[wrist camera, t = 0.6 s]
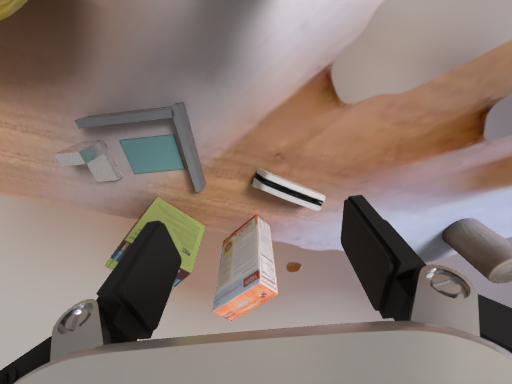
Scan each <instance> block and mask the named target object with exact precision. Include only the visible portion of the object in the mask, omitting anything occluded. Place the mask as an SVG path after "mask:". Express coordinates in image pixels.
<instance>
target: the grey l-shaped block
mask: <svg viewBox="0 0 512 384" xmlns="http://www.w3.org/2000/svg"><path fill="white" fill-rule="evenodd" d="M53 155H54V157H55V158H56V160H57V161H58V163H59V164H60V166H61V167H63V166H72V165H82V164H87V166H88V167H89V169H90V171H91V173H92V174H93V176H94V178H95V179H96V181H97V182H104V181H114V180H119V179H120V178H121V177H122V174H121V172H120V170H119V168H118V166H117V164H116V162H115V161H114V159H113V157H112V155H111V153H110V151H109V149H108V147H107V145H106V143H105V141H104V140H96V141H87V142H81V143H79V144H76V145H74V146H72V147H69V148H67V149H65V150H62V151H60V152H58V153H55V154H53Z"/></svg>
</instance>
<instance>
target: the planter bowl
mask: <svg viewBox="0 0 512 384" xmlns="http://www.w3.org/2000/svg"><path fill="white" fill-rule="evenodd" d="M27 1H28V0H0V21H1V20H4V19H5V18H7V17H9V16H11V15H12V14H14V13H15V12H17V11H18V10H19V9H20V8H21V7H22V6H23V5H24V4H25V3H26V2H27Z"/></svg>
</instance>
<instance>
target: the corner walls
mask: <svg viewBox="0 0 512 384" xmlns="http://www.w3.org/2000/svg"><path fill="white" fill-rule="evenodd" d="M167 118H173V120H174V123H175V126H176V130H177V133H178V136H179V139H180V143H181V146H182V149H183V152H184V156H185V159H186V162H187V166H188V169H189V172H190V175H191V179H192V182H193V185H194V188H195V192H202V191H203V188H204V186H205V184H206V183H205V179H204V175H203V171H202V168H201V164H200V160H199V156H198V153H197V149H196V145H195V142H194V138H193V134H192V130H191V127H190V123H189V119H188V116H187V112H186V108H185V104H184V102H182V103H176V104H174V105H171V106H169V107H163V108H154V109H146V110H137V111H128V112H120V113H111V114H102V115H94V116H88V117H84V118H81V119H77V120H75V122H76V124H77V126H78V127H79V128H87V127H96V126H105V125H113V124H122V123H131V122H140V121H149V120H158V119H167Z"/></svg>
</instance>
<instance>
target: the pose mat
mask: <svg viewBox="0 0 512 384" xmlns="http://www.w3.org/2000/svg"><path fill="white" fill-rule="evenodd" d="M120 144H121V146H122V148H123V150H124V152H125V154H126V156H127V159H128V161H129V163H130V165H131V167H132V169H133V171H134V174H138V173H148V172H158V171H168V170H178V169H184V165H183V162H182V159H181V155H180V152H179V149H178V146H177V143H176V140H175V136H174V135H164V136H155V137H146V138H137V139H127V140H120Z"/></svg>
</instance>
